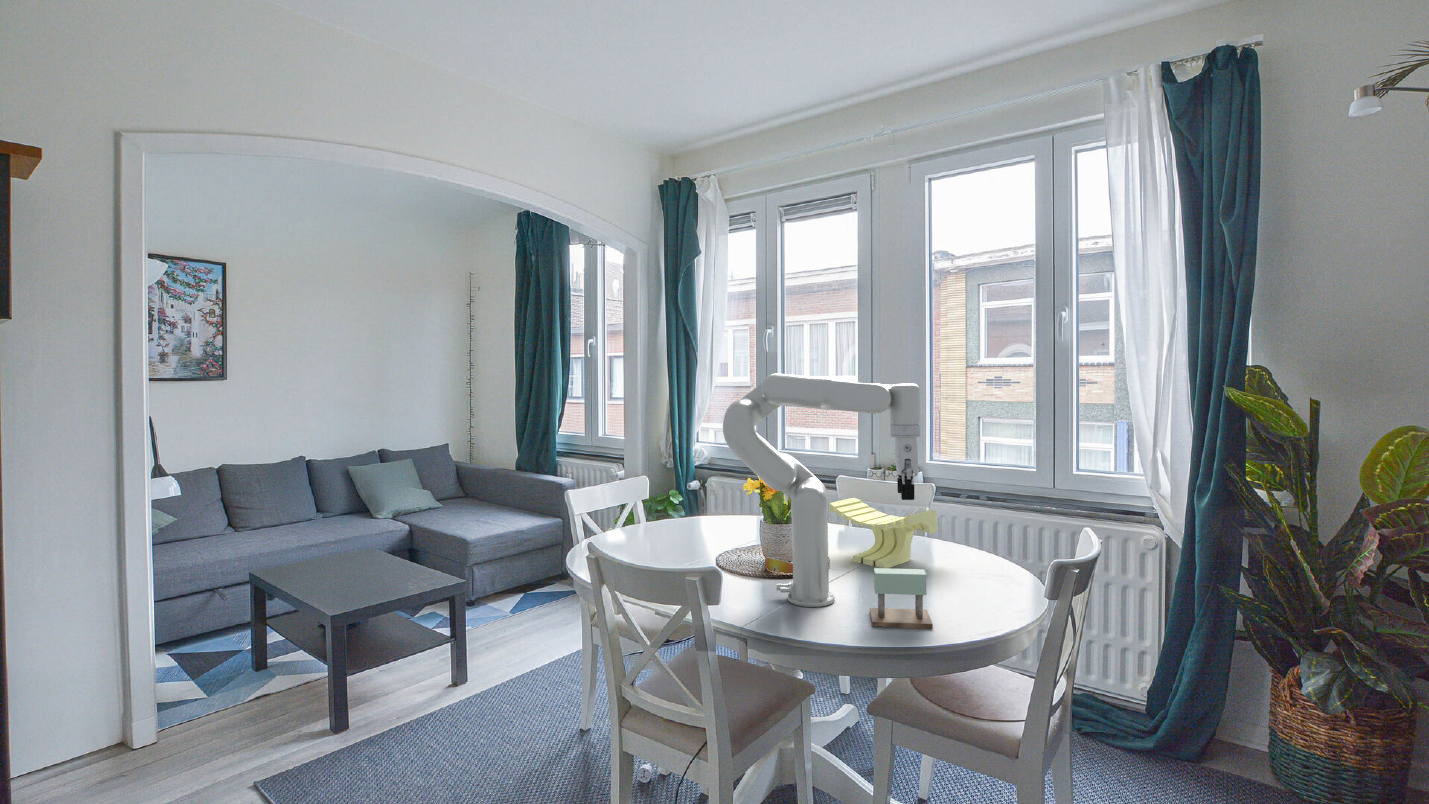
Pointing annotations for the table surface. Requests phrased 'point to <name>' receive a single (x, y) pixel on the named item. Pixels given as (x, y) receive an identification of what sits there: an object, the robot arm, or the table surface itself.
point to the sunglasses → (778, 565)
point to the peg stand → (901, 615)
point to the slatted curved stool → (885, 531)
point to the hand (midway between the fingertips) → (905, 496)
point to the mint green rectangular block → (900, 581)
